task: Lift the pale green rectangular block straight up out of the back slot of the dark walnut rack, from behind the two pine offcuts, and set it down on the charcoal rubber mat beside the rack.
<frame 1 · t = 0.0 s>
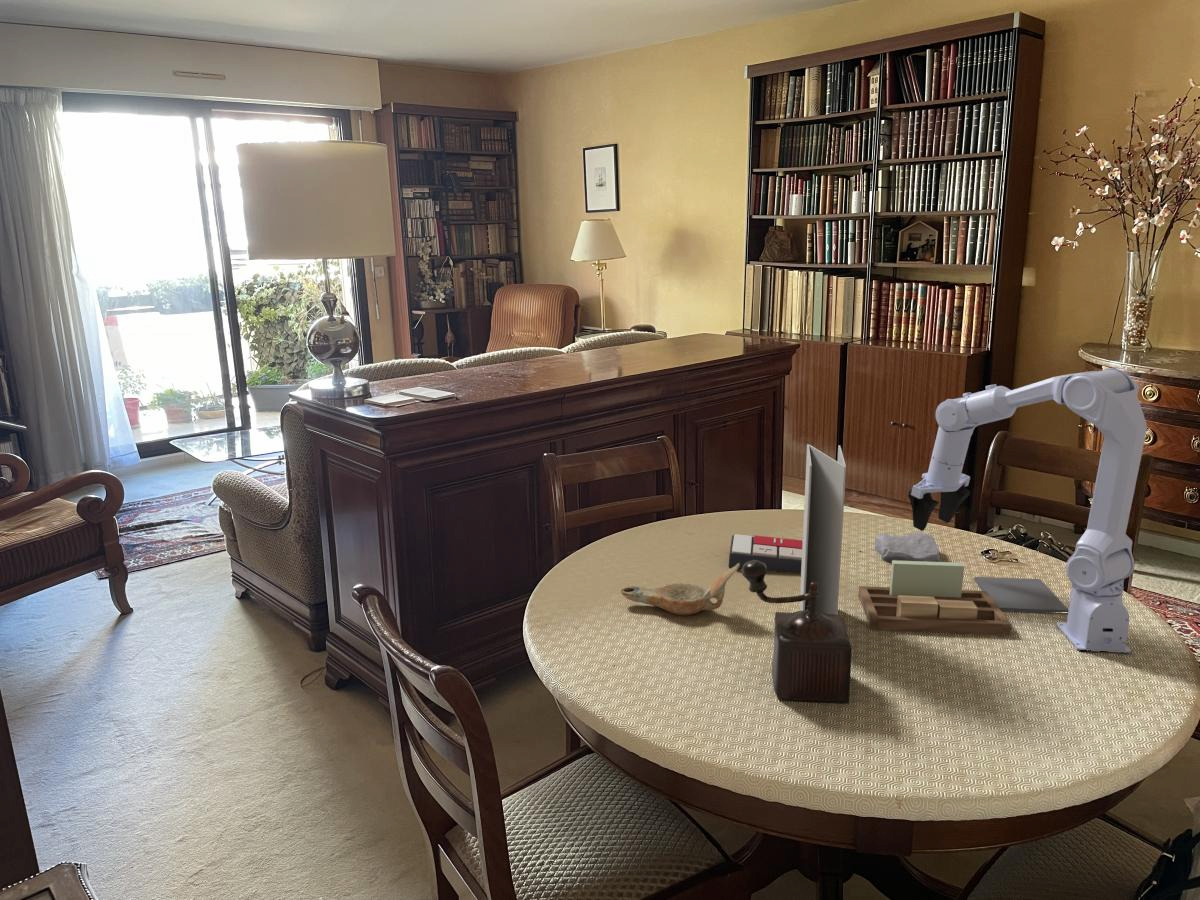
hand: (931, 524, 165), 11 cm above the table, tool pointing down, fingers open, 7 cm apart
oil lamp: (678, 610, 154), on the table
pale green rectangular block: (924, 604, 155), resting in rack
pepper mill: (791, 683, 129), on the table
offcut a: (915, 623, 147), resting in rack
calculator: (766, 563, 176), on the table
rack: (930, 615, 150), on the table
offcut b: (954, 625, 147), resting in rack
stone block: (907, 559, 177), on the table
brochure: (816, 623, 148), on the table
mat: (1019, 595, 157), on the table
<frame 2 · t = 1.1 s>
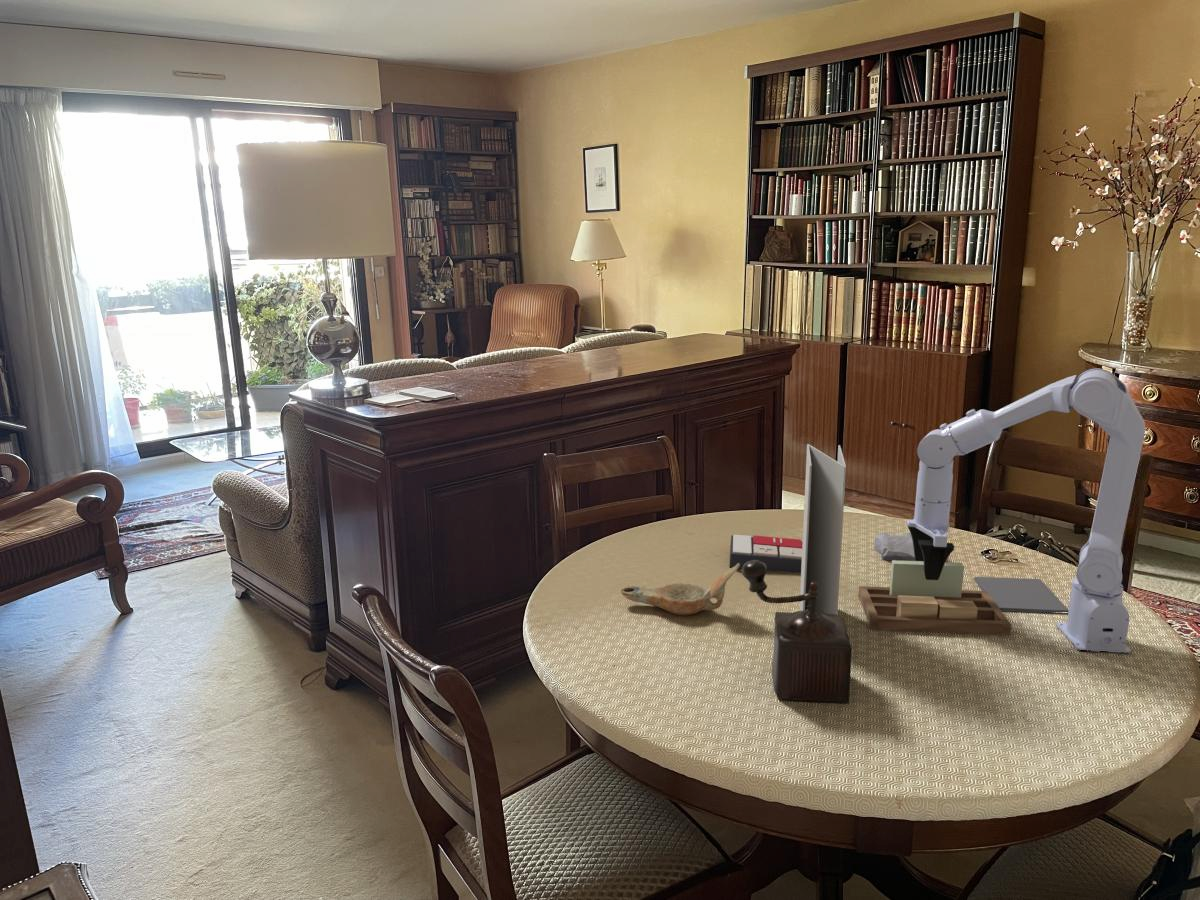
hand: (926, 570, 153), 6 cm above the table, tool pointing down, fingers open, 7 cm apart
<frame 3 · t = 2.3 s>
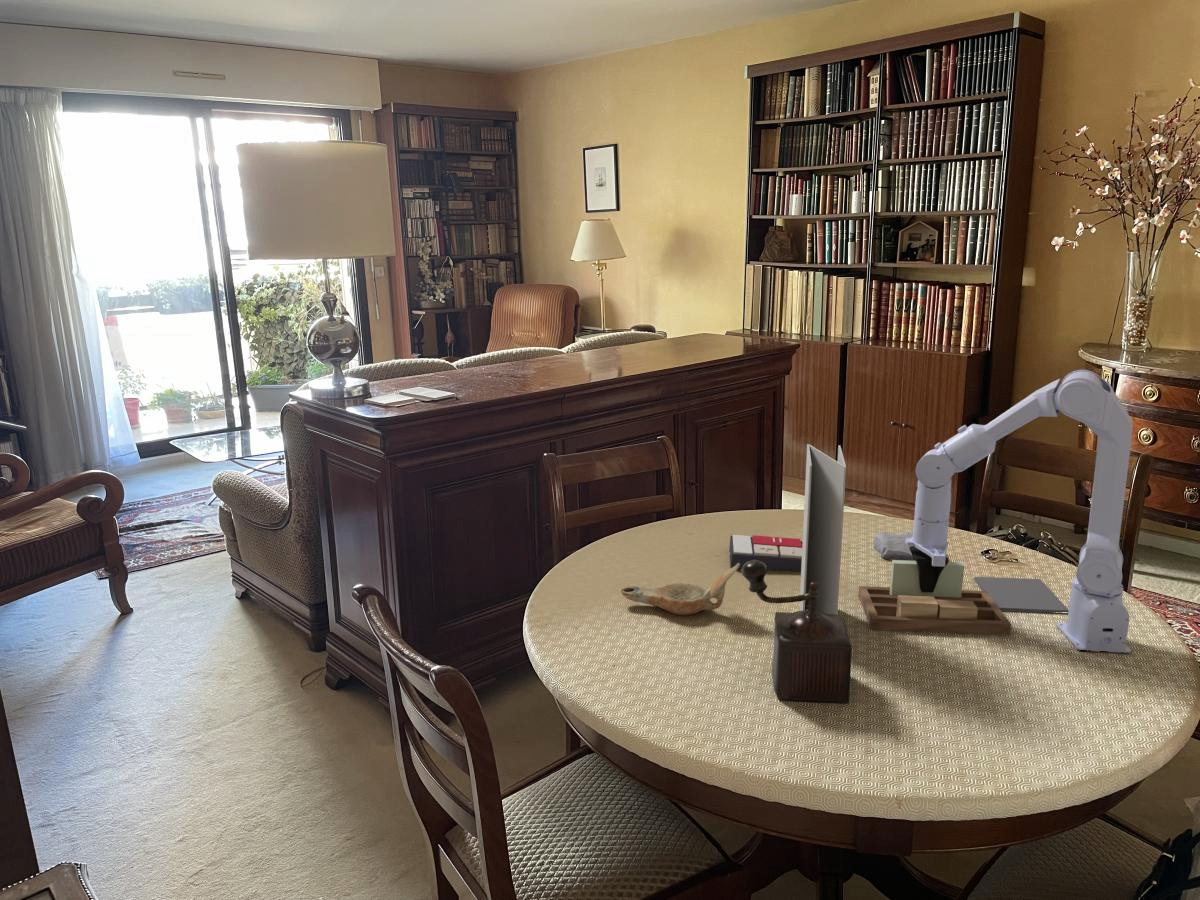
hand: (925, 589, 154), 3 cm above the table, tool pointing down, fingers closed on pale green rectangular block, 2 cm apart
pale green rectangular block: (924, 604, 155), resting in rack, touching gripper
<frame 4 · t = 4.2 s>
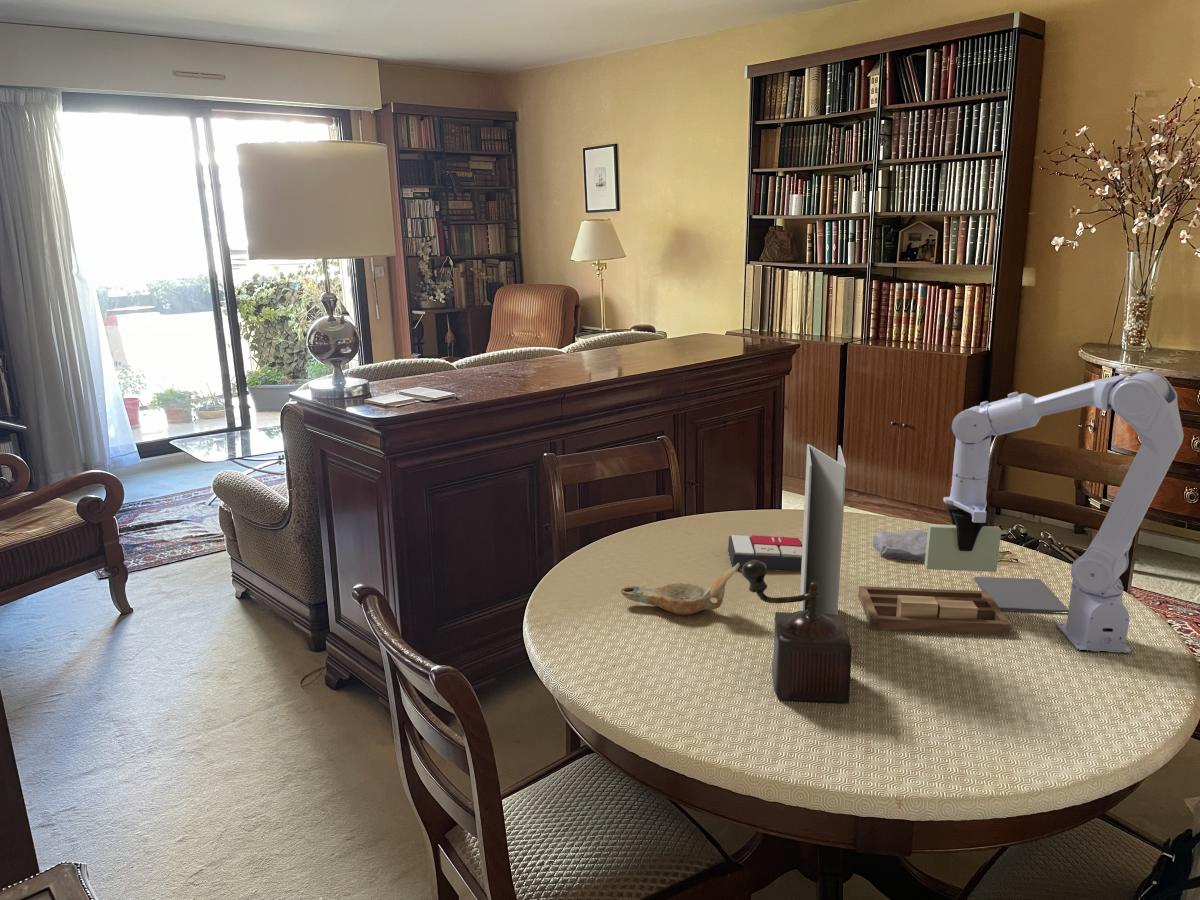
hand: (963, 548, 153), 10 cm above the table, tool pointing down, fingers closed on pale green rectangular block
pale green rectangular block: (960, 568, 154), point 6 cm above the table, touching gripper
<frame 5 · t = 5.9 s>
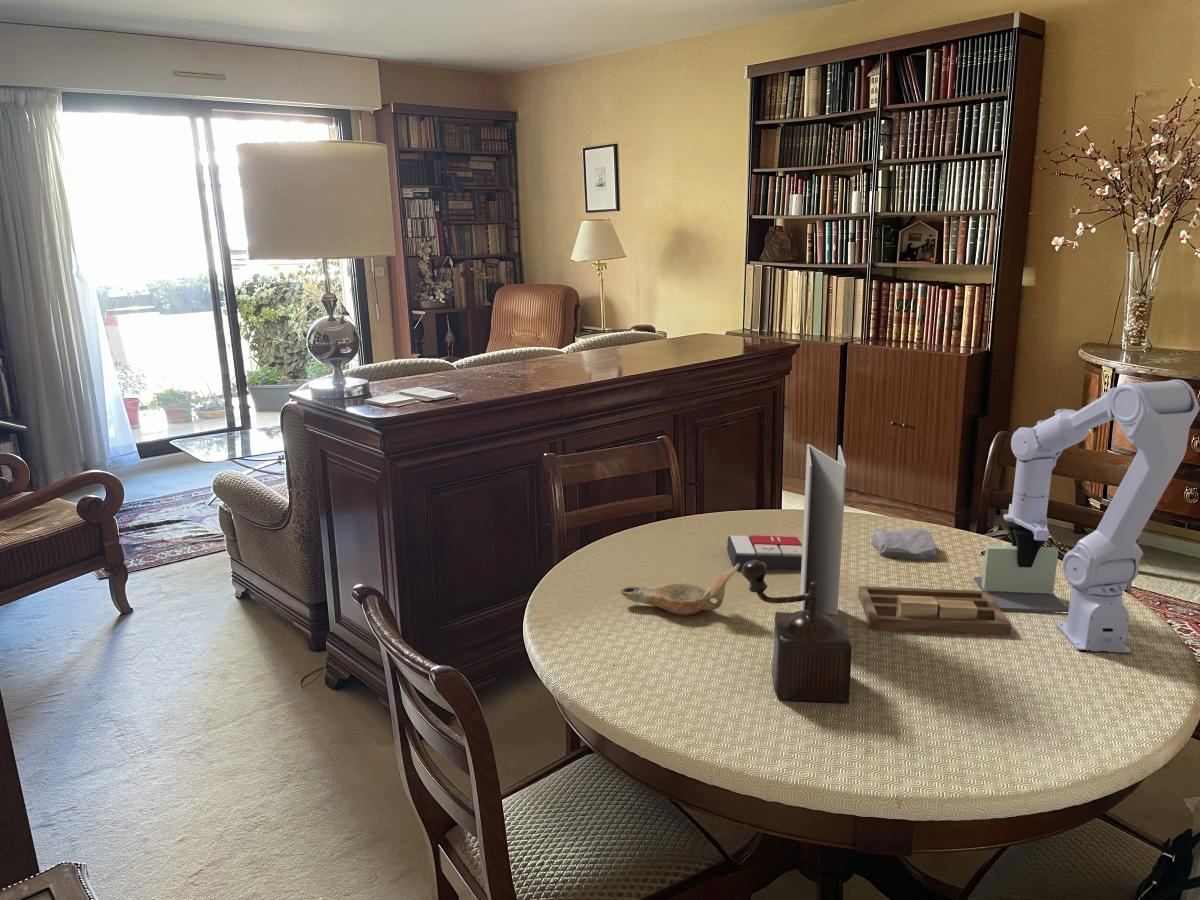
hand: (1022, 564, 156), 6 cm above the table, tool pointing down, fingers closed on pale green rectangular block, 2 cm apart
pale green rectangular block: (1017, 588, 157), point 1 cm above the table, touching gripper
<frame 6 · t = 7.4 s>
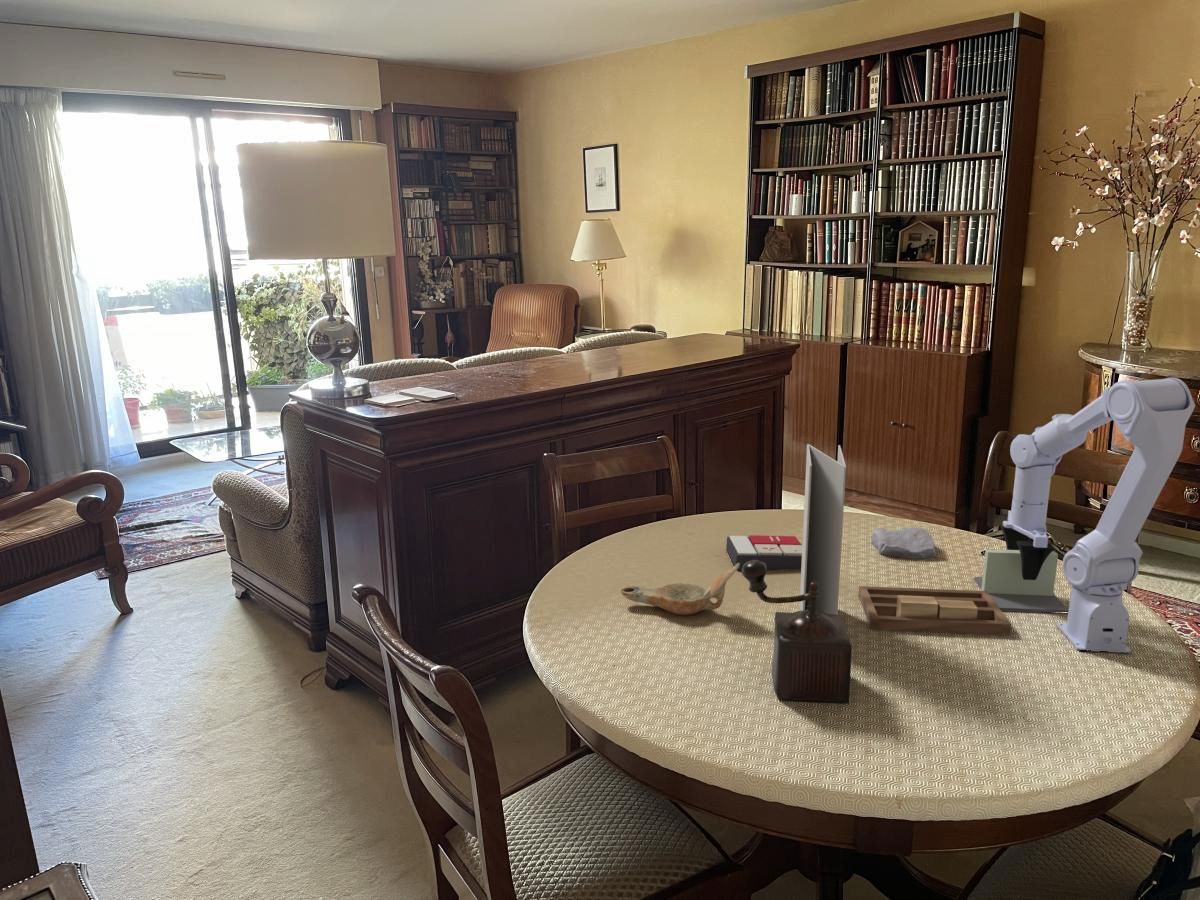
hand: (1022, 570, 156), 5 cm above the table, tool pointing down, fingers open, 7 cm apart
pale green rectangular block: (1016, 592, 157), point 1 cm above the table, touching mat
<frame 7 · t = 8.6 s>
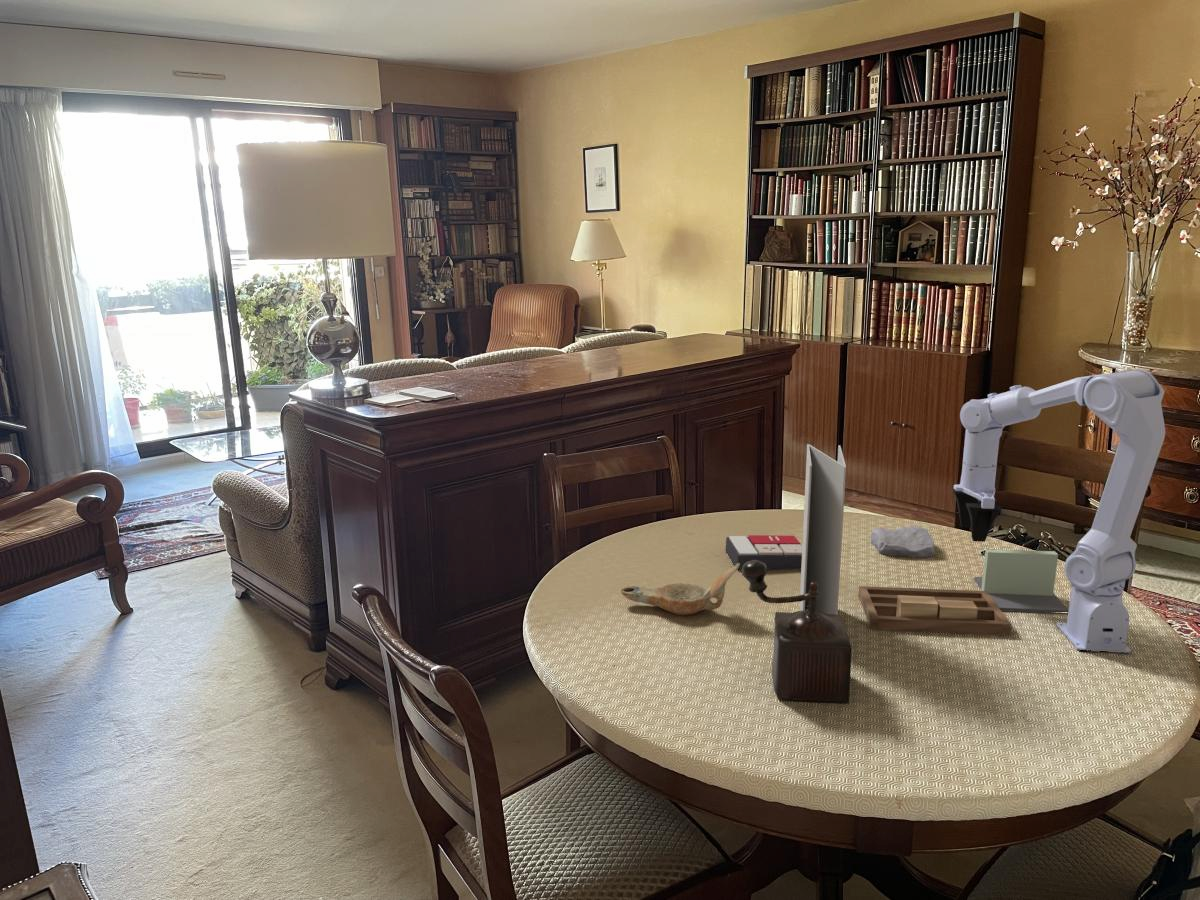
hand: (972, 533, 160), 10 cm above the table, tool pointing down, fingers open, 7 cm apart
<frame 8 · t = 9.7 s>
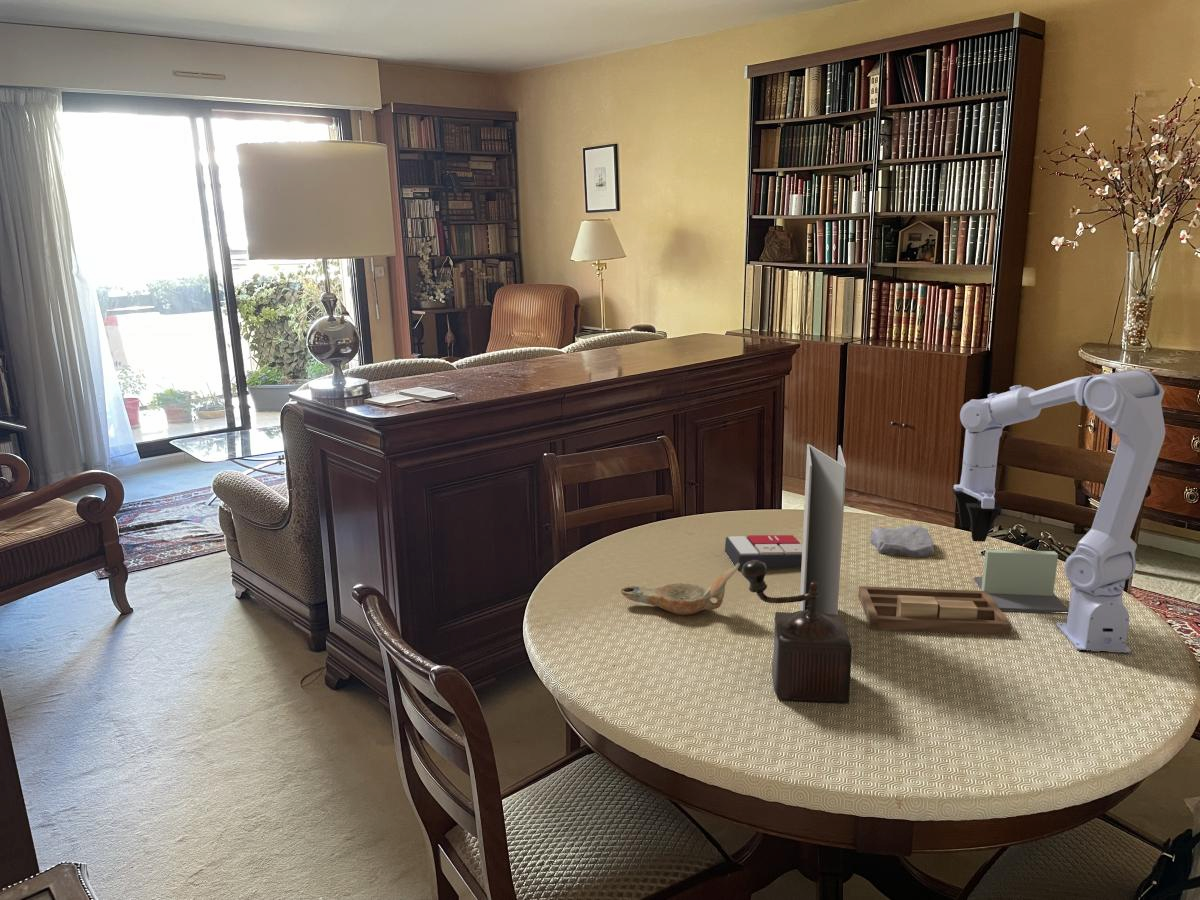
hand: (972, 533, 160), 10 cm above the table, tool pointing down, fingers open, 7 cm apart
at the end: pale green rectangular block inside the target area on the mat (0.5 cm from its centre), point 0.6 cm above the mat's base; the gripper is holding nothing; pale green rectangular block touching mat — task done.
